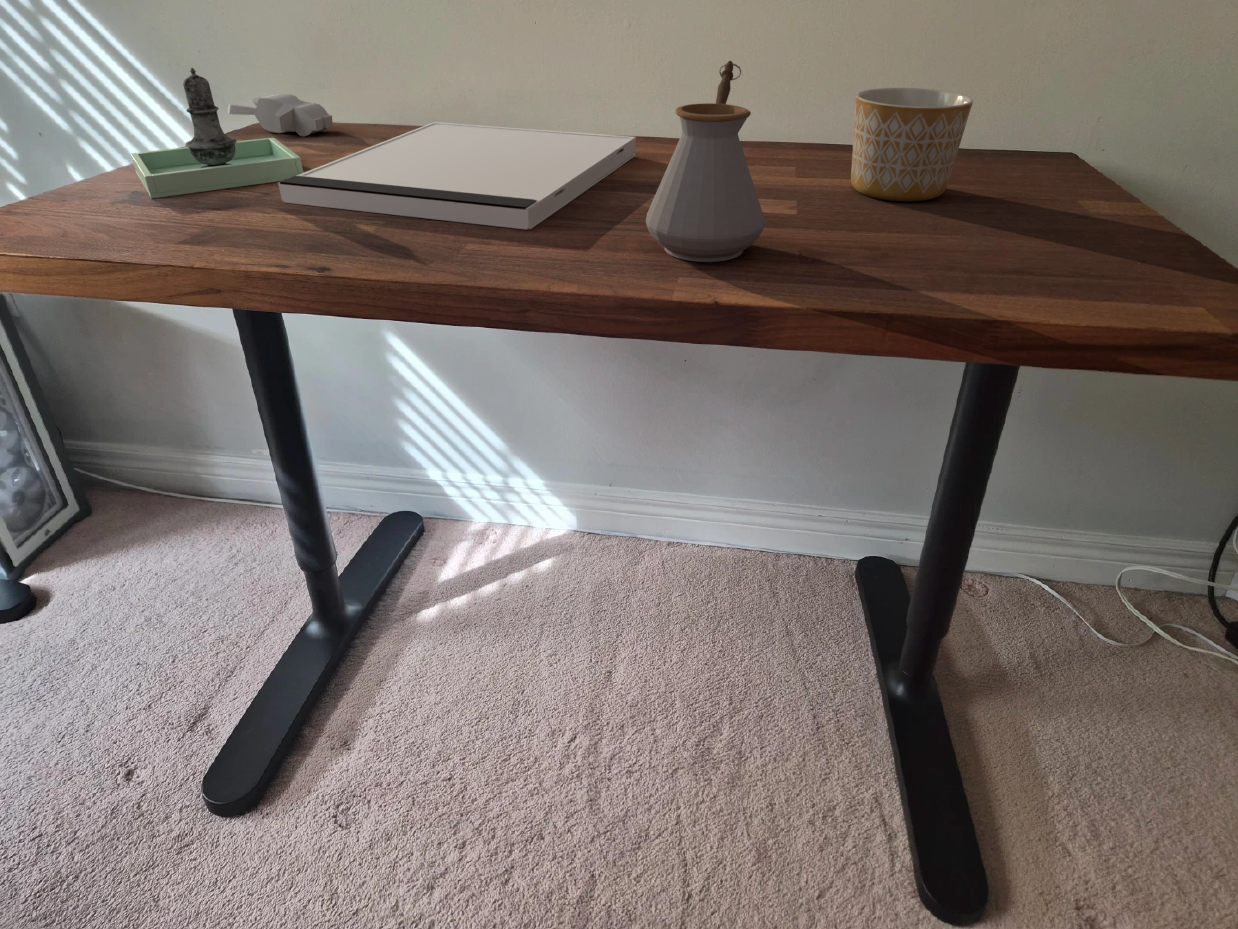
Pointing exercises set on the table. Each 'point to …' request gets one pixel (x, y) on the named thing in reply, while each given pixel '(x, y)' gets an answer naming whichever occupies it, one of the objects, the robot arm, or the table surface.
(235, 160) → the serving tray
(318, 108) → the grey blocky piece
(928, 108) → the planter
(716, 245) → the coffee pot
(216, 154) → the salt shaker
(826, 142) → the table surface
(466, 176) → the flat white box
